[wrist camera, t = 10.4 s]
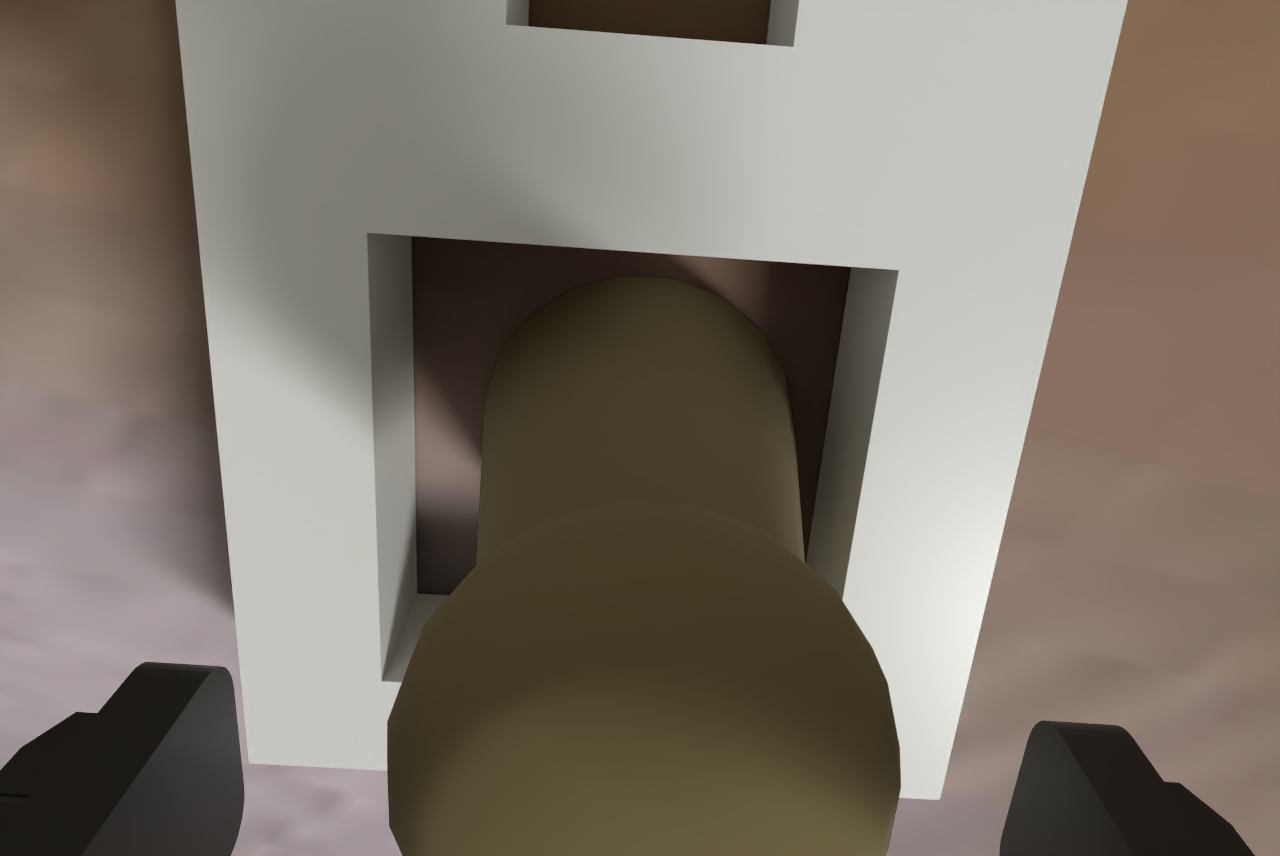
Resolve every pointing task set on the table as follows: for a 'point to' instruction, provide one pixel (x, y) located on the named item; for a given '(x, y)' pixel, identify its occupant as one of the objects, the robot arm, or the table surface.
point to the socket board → (640, 222)
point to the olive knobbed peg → (641, 612)
